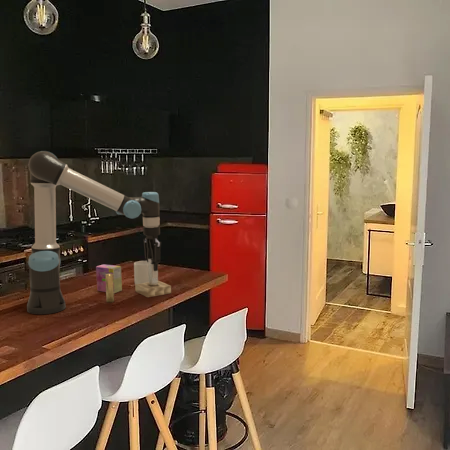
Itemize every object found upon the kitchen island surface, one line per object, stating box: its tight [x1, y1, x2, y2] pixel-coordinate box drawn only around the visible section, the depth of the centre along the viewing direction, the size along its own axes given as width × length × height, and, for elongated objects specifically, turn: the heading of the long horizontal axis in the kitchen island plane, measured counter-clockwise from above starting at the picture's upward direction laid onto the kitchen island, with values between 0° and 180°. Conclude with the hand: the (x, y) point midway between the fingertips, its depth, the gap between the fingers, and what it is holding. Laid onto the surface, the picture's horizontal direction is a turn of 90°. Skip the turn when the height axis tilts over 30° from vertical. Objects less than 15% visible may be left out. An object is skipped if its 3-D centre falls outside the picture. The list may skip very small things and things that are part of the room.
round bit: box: [105, 274, 115, 303], centre depth 230 cm, size 3×3×12 cm
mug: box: [133, 260, 149, 285], centre depth 260 cm, size 12×9×11 cm
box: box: [95, 264, 123, 294], centre depth 248 cm, size 10×6×12 cm, turn 62°
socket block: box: [134, 280, 172, 298], centre depth 245 cm, size 12×12×4 cm
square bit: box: [148, 258, 159, 285], centre depth 244 cm, size 3×3×12 cm
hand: (153, 276), depth 244 cm, fingers closed on square bit, 3 cm apart
